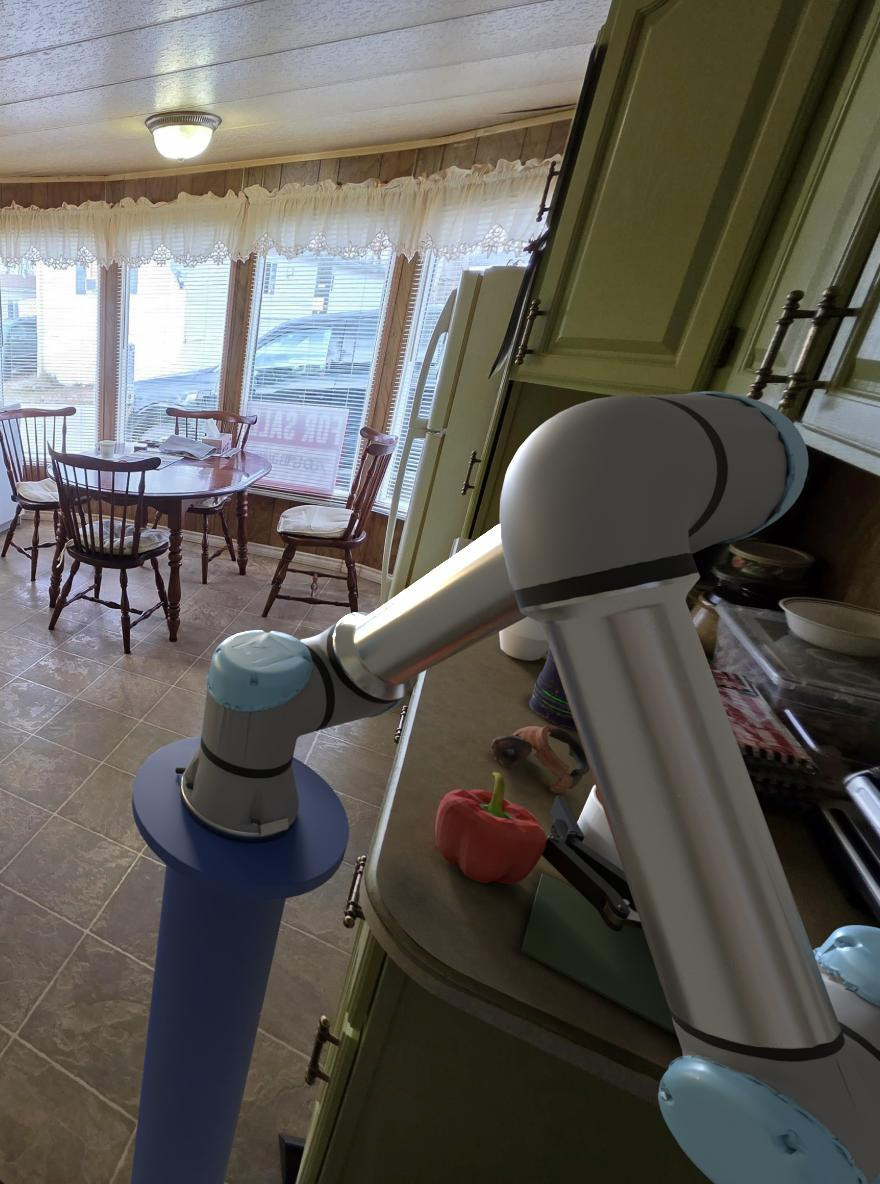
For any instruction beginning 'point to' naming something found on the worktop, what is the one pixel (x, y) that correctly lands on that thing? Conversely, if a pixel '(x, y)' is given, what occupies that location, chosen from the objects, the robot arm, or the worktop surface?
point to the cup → (598, 829)
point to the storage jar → (551, 696)
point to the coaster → (595, 951)
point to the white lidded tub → (524, 640)
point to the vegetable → (488, 835)
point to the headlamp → (542, 753)
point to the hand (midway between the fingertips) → (624, 820)
